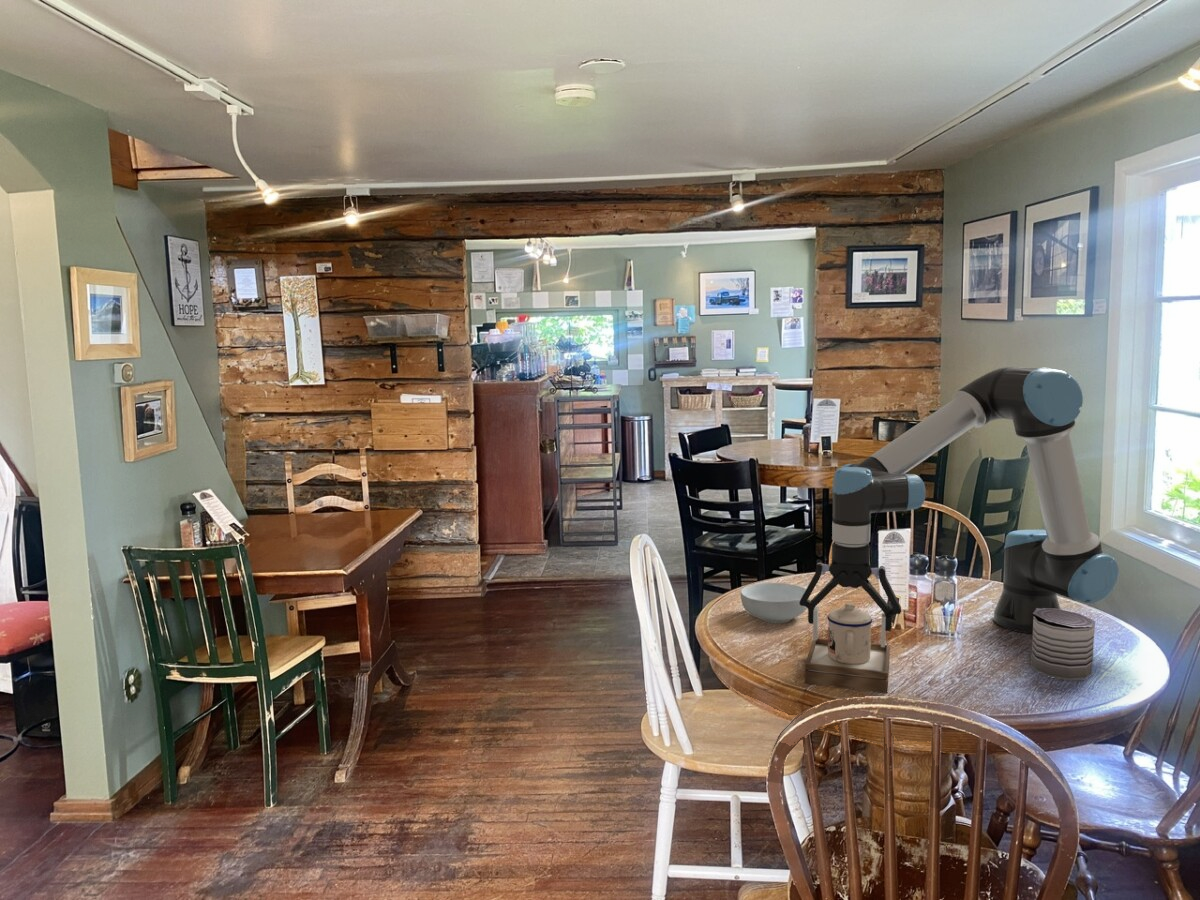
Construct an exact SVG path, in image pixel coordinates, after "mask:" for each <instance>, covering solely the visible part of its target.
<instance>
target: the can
mask: <svg viewBox="0 0 1200 900" xmlns="http://www.w3.org/2000/svg"><path fill="white" fill-rule="evenodd" d="M1033 614H1035V615H1034V618H1033V634H1032V638H1031V639H1032V640H1031V658H1030V659H1031V663H1030V666H1031V667H1032V668H1033V671H1034V672H1035V673H1038V672H1039V674H1042V675H1043V674H1044V675H1043V676H1045V675H1046V677H1048V676H1049V677H1048V678H1051V677H1054V678H1053V679H1057V678H1059V679H1058V680H1063V679H1065V680H1064V681H1069V680H1071V681H1083V679H1086V678H1087V677H1088V678H1090V677H1091V676H1092V674H1093V663H1094V662H1093V660H1094V659H1093V658H1094V646H1095V645H1094V643H1095V642H1094V641H1095V628H1096V621H1095V620H1094V619H1091V618H1089V617H1087V616H1085V615H1083V614H1081V613H1077V612H1073V611H1069V610H1064V609H1061V610H1060V609H1056V608H1036V609H1035V611H1034V612H1033ZM1090 675H1091V676H1090ZM1089 676H1090V677H1089ZM1088 678H1087V679H1088ZM1087 679H1086V680H1087Z"/></svg>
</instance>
